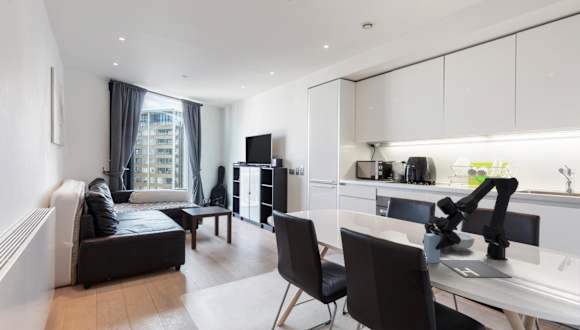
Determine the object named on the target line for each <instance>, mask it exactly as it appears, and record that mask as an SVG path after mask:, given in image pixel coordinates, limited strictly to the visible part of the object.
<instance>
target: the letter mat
mask: <svg viewBox="0 0 580 330" xmlns="http://www.w3.org/2000/svg"><path fill="white" fill-rule="evenodd" d="M440 263H441V264H442V265H444V266H446V267H448V268H449V269H451V270H452V271H454V272H455V273H457V274H458V275H460V276H462V277H463V278H466V279H467V278H470V279H471V278H477V279H478V278H481V279H482V278H483V279H484V278H487V279H489V278H490V279H491V278H492V279H494V278H495V279H511V278H512V275H509V274H507V273H505V272H503V271H501V270H500V269H497V268H495V267H493V266H491V265H489V264H488V263H485V262H483V261H482V260H479V259H440Z"/></svg>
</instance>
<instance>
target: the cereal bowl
mask: <svg viewBox="0 0 580 330" xmlns="http://www.w3.org/2000/svg"><path fill="white" fill-rule="evenodd" d="M454 232H455V233H456V234H457V235H458V236H459V237H460V238H461V242H460V243H459V244H458V245H457V244H455V245H452V251H463V250H466V249H470V248H472V246H473V245H474V243H475V237H474V236H472V235H470V234H466V233H463V232H456V231H454Z"/></svg>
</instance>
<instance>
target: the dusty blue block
mask: <svg viewBox="0 0 580 330" xmlns="http://www.w3.org/2000/svg"><path fill="white" fill-rule="evenodd" d="M423 239H424V244H423V252H424V251H425V253H426V257H427V261H426V262H427V263H428V264H440V263H441V262H440V260H441V252H440V249H439V250H436V249H435V248H436V246H437V245H438V243H439V242H440V236H438V235H436V234H426V233H423Z"/></svg>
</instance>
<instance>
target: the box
mask: <svg viewBox="0 0 580 330" xmlns="http://www.w3.org/2000/svg"><path fill="white" fill-rule="evenodd" d="M438 236H440V241H441V240H442V237H443V235H441V234H438ZM452 252H453V249H452V245H451V246H447V247H444V248H442V249H440V254H444V255H445V254H451V253H452Z"/></svg>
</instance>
